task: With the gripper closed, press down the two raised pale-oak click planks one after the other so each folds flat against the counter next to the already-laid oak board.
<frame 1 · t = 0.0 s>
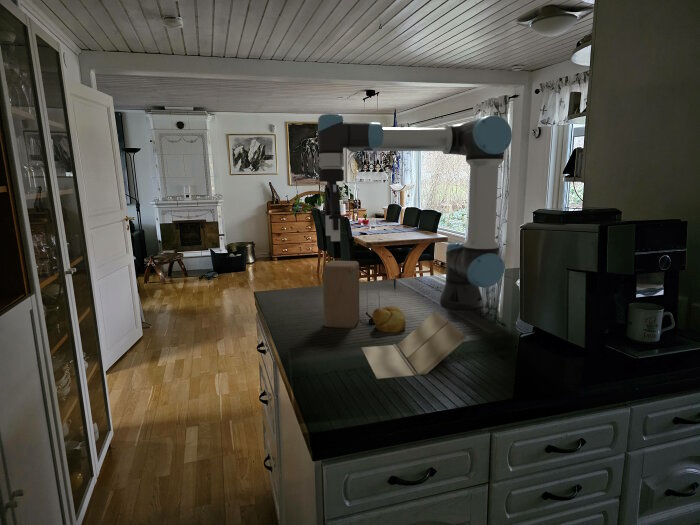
hand: (332, 238, 134), 28 cm above the worktop, fingers open, 13 cm apart
bread roll: (391, 330, 134), on the worktop
wooden block: (342, 324, 140), on the worktop
near plank: (436, 348, 105), point 5 cm above the worktop, hinge at 40.0°
laid board: (387, 364, 108), on the worktop
far plank: (423, 335, 114), point 5 cm above the worktop, hinge at 40.0°
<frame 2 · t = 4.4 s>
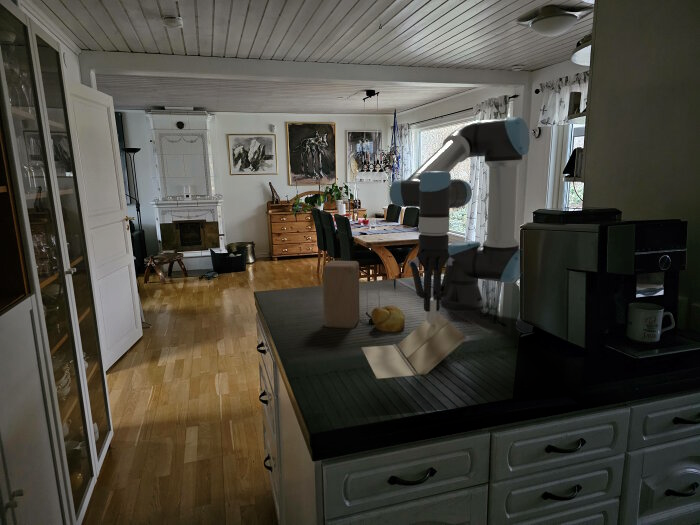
hand: (431, 322, 113), 9 cm above the worktop, fingers closed
far plank: (423, 335, 114), point 5 cm above the worktop, hinge at 39.5°, touching gripper
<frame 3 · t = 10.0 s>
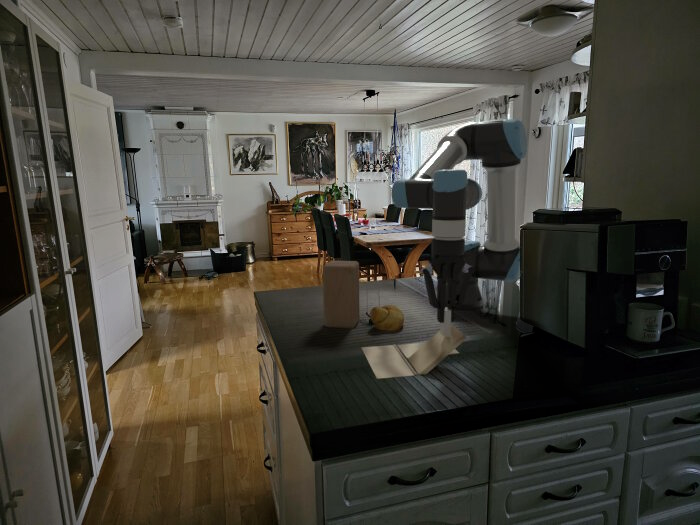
hand: (445, 334, 104), 9 cm above the worktop, fingers closed
near plank: (436, 348, 105), point 5 cm above the worktop, hinge at 39.9°, touching gripper
far plank: (427, 351, 115), point 1 cm above the worktop, hinge at 1.1°
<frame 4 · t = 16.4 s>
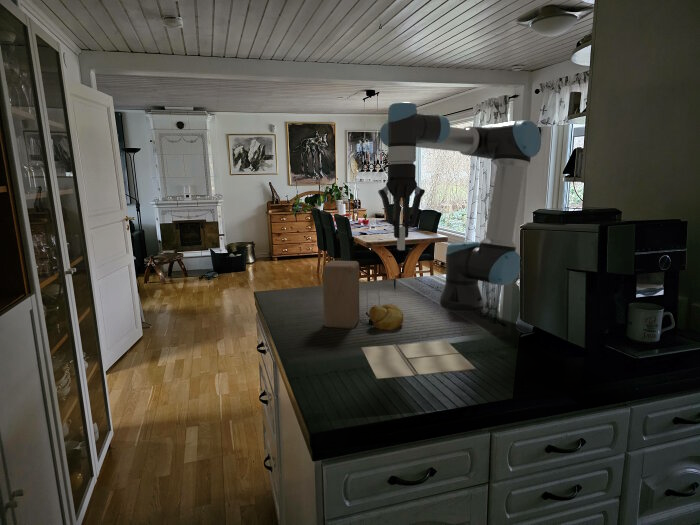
hand: (400, 249, 121), 26 cm above the worktop, fingers closed
near plank: (440, 365, 106), point 1 cm above the worktop, hinge at 1.3°
at the end: far plank at +1° (first picture: +40°); near plank at +1° (first picture: +40°) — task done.
